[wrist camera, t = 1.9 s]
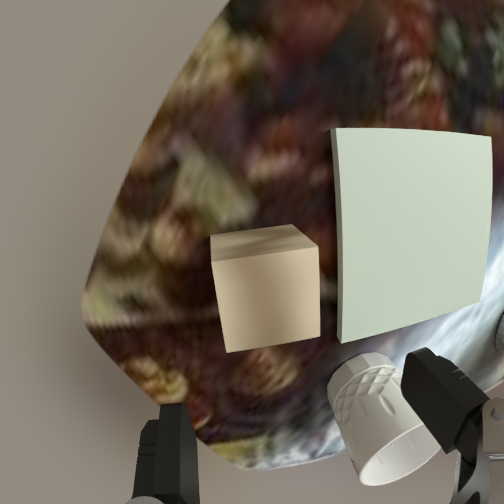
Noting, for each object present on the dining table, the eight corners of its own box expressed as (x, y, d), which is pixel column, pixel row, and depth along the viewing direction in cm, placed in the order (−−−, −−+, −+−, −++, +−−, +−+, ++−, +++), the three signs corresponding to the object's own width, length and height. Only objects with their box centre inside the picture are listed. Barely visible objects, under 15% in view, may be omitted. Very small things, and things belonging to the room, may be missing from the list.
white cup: (340, 342, 25) (396, 424, 15) (408, 348, 26) (467, 413, 17) (307, 409, 27) (341, 492, 17) (373, 409, 28) (415, 477, 19)
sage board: (483, 136, 21) (490, 137, 20) (473, 297, 26) (479, 301, 25) (330, 129, 20) (335, 128, 19) (336, 336, 24) (341, 343, 24)
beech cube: (291, 224, 21) (318, 246, 16) (296, 297, 23) (319, 336, 18) (210, 235, 21) (211, 261, 16) (221, 308, 22) (226, 352, 17)
